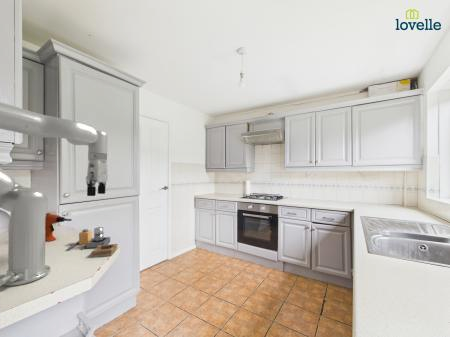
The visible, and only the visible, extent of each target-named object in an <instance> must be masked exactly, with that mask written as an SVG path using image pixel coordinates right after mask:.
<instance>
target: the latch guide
mask: <svg viewBox="0 0 450 337" xmlns="http://www.w3.org/2000/svg"><path fill="white" fill-rule="evenodd" d="M93 238H94V237H91V240H92V239H93ZM78 245H79V240H78V241H76V242H75V243H73V244H72V245H70V246H69V247H67V251H68V252H69V251H71V250H73V249H74V248H76V247H77V246H78ZM81 248H82V249H81V250H82V251H83V250H85V249H86V245H82V247H81Z"/></svg>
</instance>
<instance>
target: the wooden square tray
mask: <svg viewBox="0 0 450 337" xmlns="http://www.w3.org/2000/svg"><path fill="white" fill-rule="evenodd" d="M117 251H118V243H112V244H110V243H109V244H108V245H99V246H98V247H97V248H93V250H92V251H91V258H99V257H101V258H102V257H112V256H113V255H114V253H115V252H117Z"/></svg>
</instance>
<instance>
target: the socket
mask: <svg viewBox="0 0 450 337" xmlns="http://www.w3.org/2000/svg"><path fill="white" fill-rule="evenodd" d="M92 238H93V239H92V240H90V241H89V242H87V243H86V248H85V249H86V250H88V249H95V248H97V247H98V246H99V245H109V244H110V243H111V236H106V237H104V236H103V241H102V242H94V237H92Z"/></svg>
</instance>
